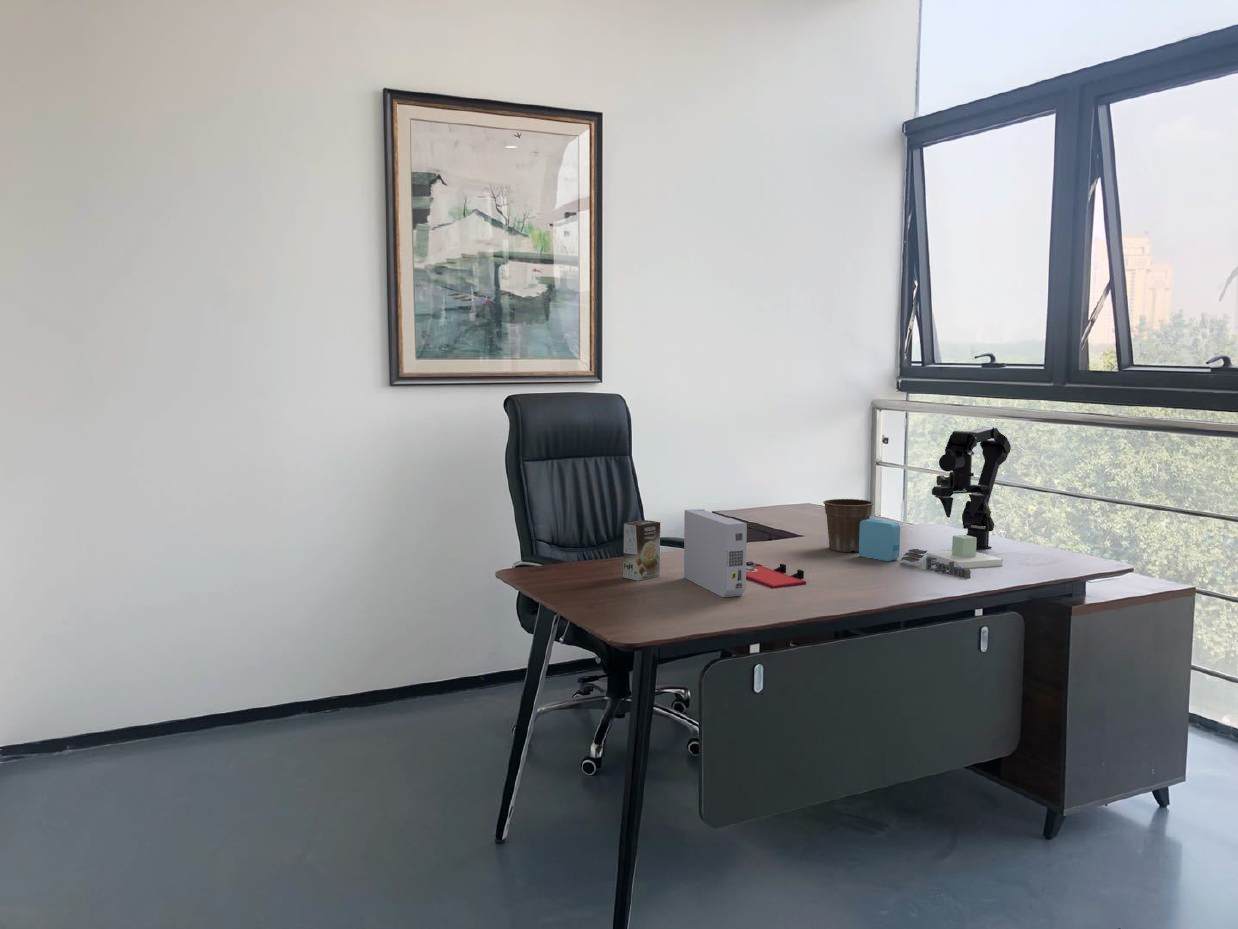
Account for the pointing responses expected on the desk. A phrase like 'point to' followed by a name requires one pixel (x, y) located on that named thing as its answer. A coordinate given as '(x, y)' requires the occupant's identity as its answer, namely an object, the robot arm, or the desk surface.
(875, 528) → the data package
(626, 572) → the coffee box
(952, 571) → the extruded letter logo
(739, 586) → the game console
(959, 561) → the base plate
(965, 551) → the sage block
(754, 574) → the red board with handle
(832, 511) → the plant pot
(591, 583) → the desk surface
